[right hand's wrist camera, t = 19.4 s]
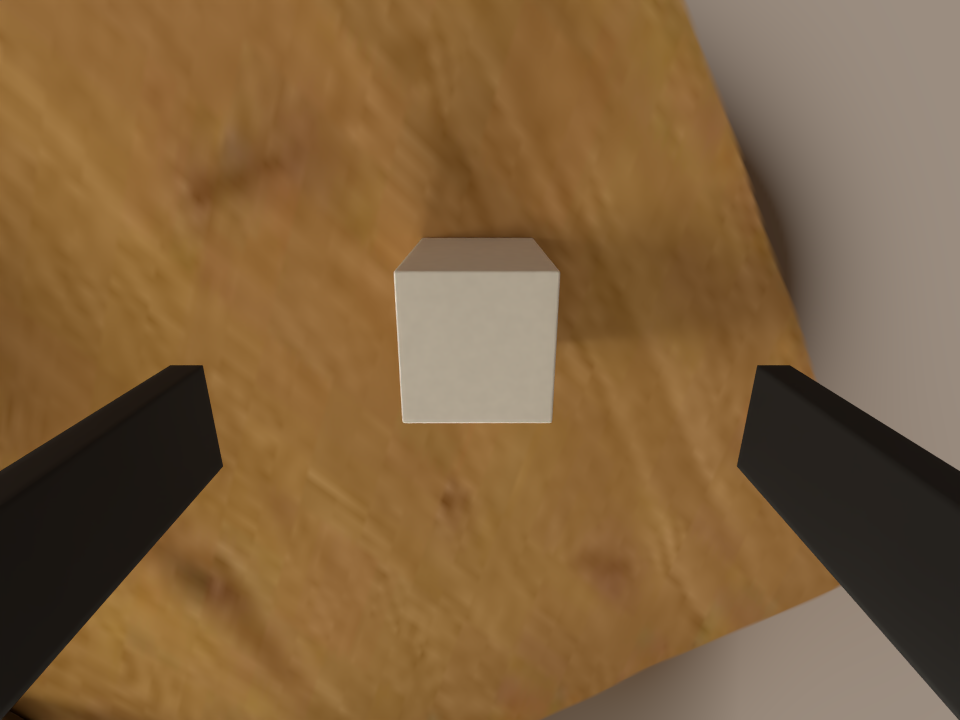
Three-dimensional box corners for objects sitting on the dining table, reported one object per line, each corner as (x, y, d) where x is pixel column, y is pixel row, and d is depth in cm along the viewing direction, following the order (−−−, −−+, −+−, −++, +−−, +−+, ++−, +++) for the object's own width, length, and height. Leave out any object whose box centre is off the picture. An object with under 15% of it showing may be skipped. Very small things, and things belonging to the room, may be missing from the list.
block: (533, 237, 24) (560, 271, 16) (529, 345, 26) (552, 423, 18) (421, 237, 24) (393, 271, 16) (426, 345, 26) (402, 423, 18)
